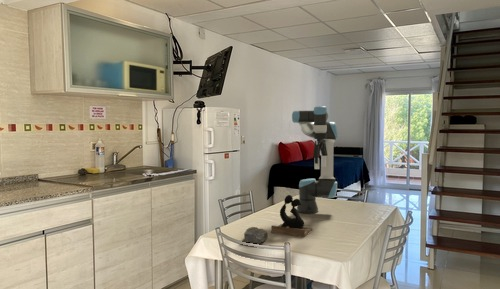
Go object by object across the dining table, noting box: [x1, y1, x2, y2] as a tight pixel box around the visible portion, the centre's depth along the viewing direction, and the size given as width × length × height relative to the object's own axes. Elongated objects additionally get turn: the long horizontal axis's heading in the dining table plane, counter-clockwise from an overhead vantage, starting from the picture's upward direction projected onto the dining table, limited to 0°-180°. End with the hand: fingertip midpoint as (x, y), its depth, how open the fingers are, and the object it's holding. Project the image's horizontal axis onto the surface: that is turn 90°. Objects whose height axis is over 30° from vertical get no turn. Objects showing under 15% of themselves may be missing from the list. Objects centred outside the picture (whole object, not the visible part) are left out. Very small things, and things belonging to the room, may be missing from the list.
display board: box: [270, 223, 313, 238], centre depth 216 cm, size 15×20×4 cm
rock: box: [243, 226, 269, 245], centre depth 201 cm, size 13×6×15 cm
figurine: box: [279, 194, 305, 229], centre depth 216 cm, size 14×9×20 cm, turn 76°
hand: (320, 167), depth 222 cm, fingers open, 13 cm apart
